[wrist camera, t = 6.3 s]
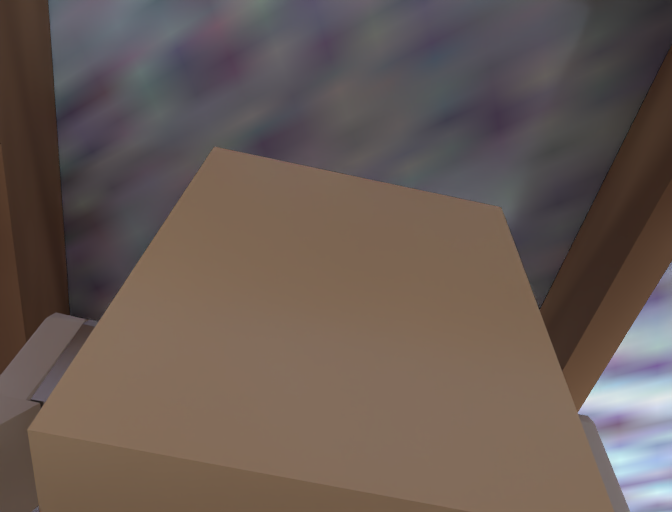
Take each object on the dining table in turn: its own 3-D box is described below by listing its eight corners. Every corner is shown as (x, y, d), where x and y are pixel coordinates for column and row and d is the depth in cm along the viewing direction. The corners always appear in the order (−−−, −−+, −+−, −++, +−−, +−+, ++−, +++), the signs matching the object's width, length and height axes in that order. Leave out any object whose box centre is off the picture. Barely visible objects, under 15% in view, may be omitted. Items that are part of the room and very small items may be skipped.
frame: (790, -87, 11) (884, -83, 9) (506, 438, 20) (522, 502, 18) (-27, -287, 10) (-129, -334, 8) (42, 354, 19) (1, 411, 17)
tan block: (500, 207, 10) (624, 540, 5) (421, 404, 13) (447, 748, 8) (214, 146, 10) (26, 428, 5) (196, 360, 12) (65, 686, 7)
